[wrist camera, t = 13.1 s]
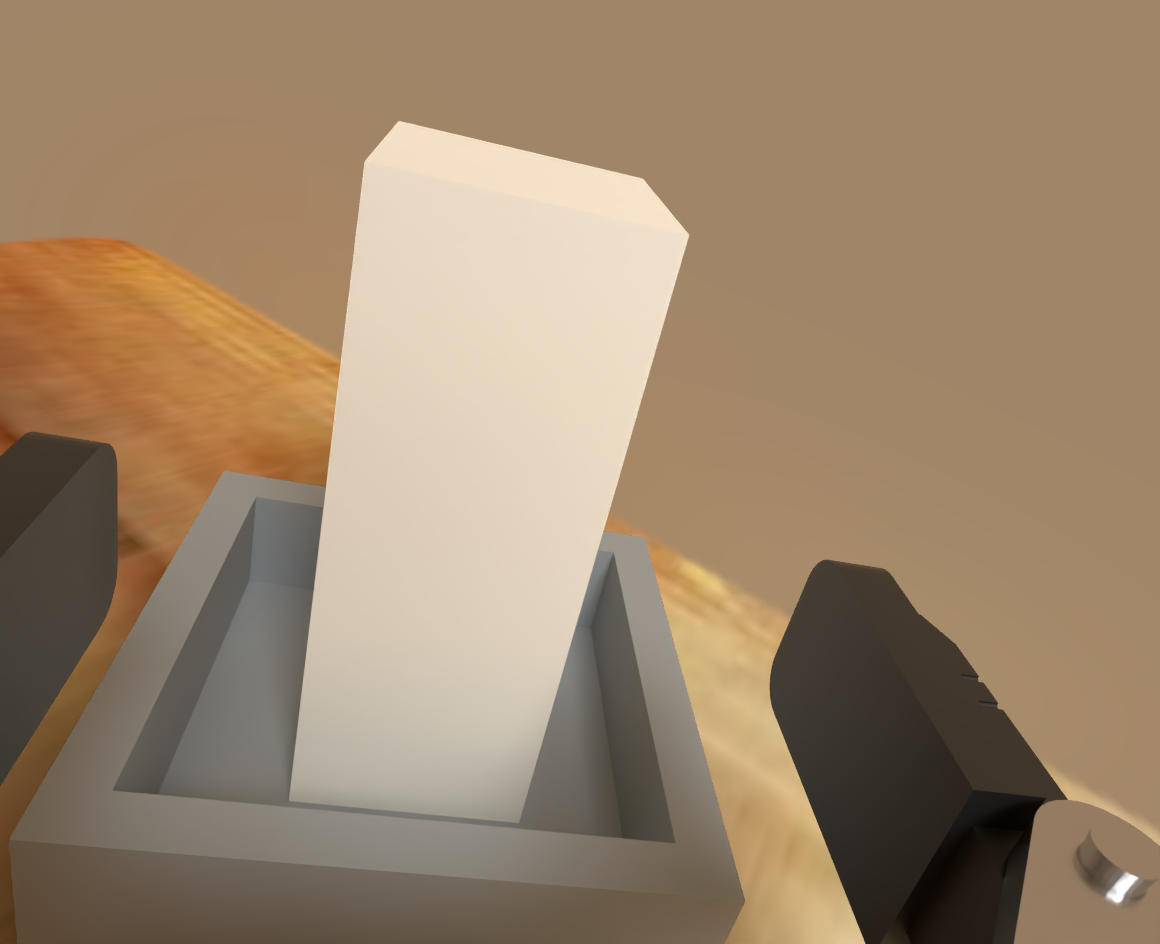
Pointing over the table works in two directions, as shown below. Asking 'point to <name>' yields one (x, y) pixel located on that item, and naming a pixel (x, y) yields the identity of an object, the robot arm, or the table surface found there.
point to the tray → (348, 834)
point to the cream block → (471, 464)
